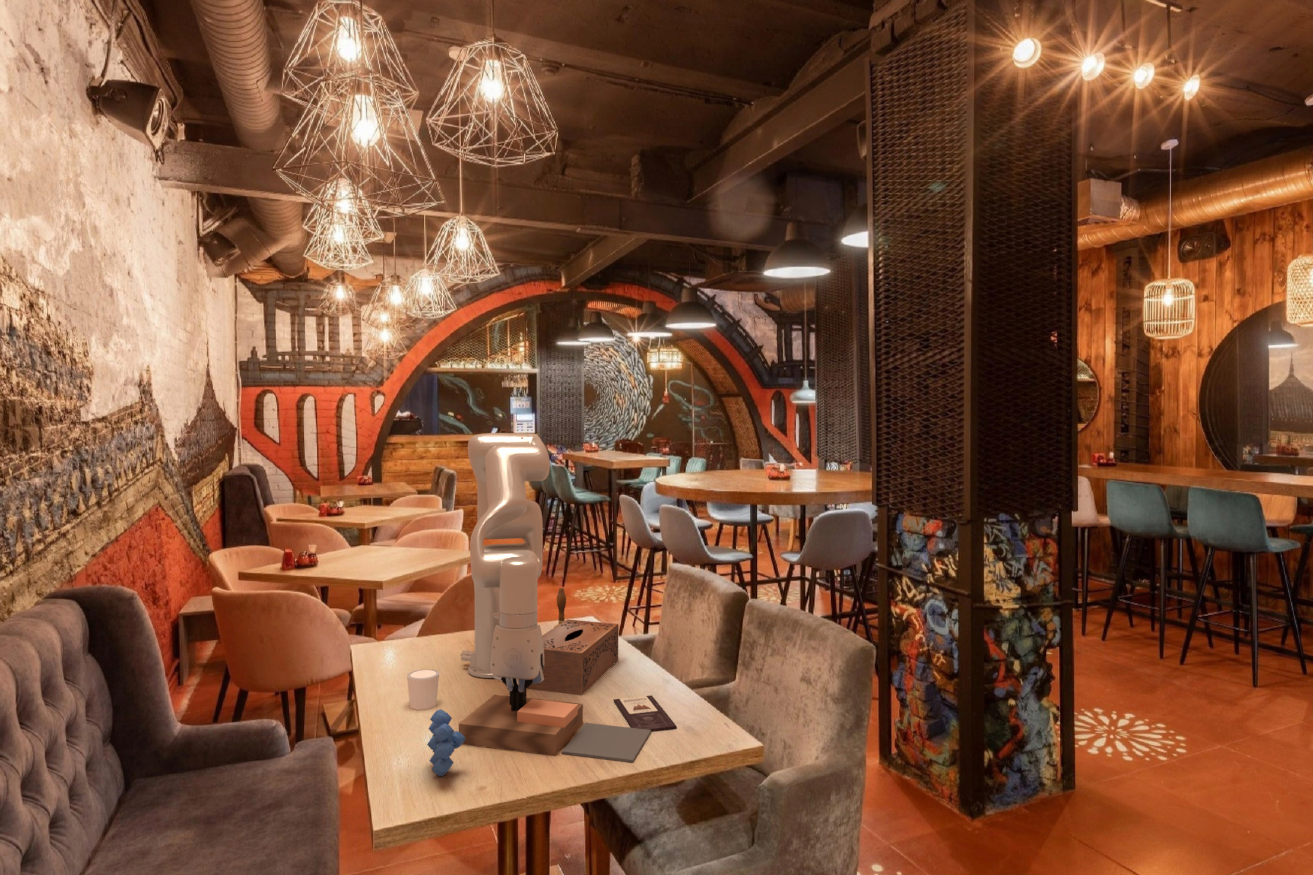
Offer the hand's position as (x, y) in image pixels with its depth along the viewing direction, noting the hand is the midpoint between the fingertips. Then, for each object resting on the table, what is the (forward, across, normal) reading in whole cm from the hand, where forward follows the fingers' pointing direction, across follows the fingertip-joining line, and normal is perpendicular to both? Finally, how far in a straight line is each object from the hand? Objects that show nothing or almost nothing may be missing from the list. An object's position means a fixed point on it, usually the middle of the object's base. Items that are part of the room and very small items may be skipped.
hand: (517, 708), depth 156 cm
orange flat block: (+1, +7, -1) cm, 7 cm away
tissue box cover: (+5, -1, +36) cm, 37 cm away
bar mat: (+5, +19, 0) cm, 20 cm away
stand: (+5, +1, 0) cm, 5 cm away
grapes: (+5, -5, -20) cm, 21 cm away
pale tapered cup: (+5, -26, +8) cm, 28 cm away
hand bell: (+5, -12, +57) cm, 59 cm away
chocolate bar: (+6, +22, +16) cm, 28 cm away
